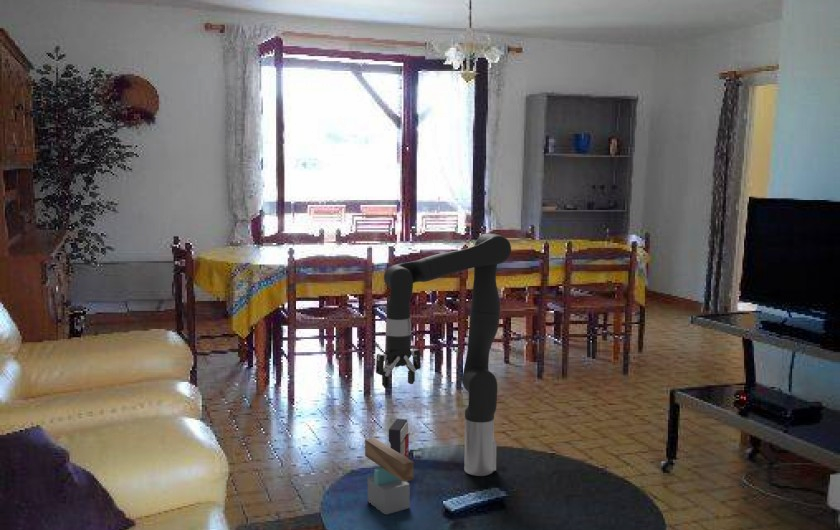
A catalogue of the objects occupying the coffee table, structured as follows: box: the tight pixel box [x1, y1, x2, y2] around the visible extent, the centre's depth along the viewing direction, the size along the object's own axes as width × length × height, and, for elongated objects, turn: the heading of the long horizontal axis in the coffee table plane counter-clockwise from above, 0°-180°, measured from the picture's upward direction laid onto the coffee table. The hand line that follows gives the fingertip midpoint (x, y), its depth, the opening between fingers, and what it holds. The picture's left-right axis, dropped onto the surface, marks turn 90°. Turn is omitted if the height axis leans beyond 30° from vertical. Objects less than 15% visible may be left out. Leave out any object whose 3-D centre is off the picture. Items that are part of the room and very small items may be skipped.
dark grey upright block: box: [388, 418, 410, 459], centre depth 228 cm, size 11×4×15 cm, turn 168°
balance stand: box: [367, 466, 411, 515], centre depth 204 cm, size 8×10×11 cm
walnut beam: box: [364, 437, 414, 482], centre depth 203 cm, size 3×22×5 cm, turn 32°
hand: (398, 385), depth 217 cm, fingers open, 8 cm apart
